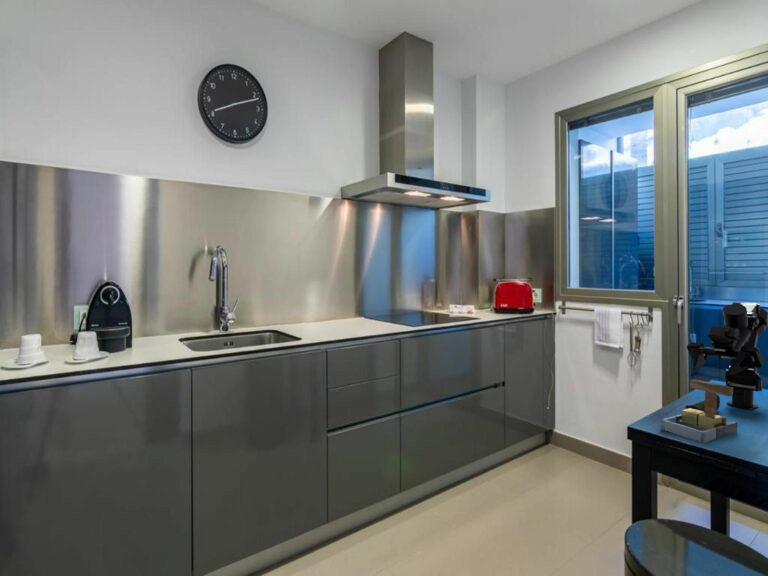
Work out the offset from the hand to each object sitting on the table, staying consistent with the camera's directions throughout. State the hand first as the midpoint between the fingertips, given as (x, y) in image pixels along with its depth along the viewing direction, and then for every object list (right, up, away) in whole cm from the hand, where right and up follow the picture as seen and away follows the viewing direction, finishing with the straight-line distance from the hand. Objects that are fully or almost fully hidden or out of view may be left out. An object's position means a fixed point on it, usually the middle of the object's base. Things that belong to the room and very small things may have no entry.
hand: (711, 371), depth 126 cm
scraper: (-3, -14, -3) cm, 15 cm away
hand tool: (+4, -15, +8) cm, 18 cm away
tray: (-13, -16, -8) cm, 22 cm away
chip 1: (-8, -14, -3) cm, 16 cm away
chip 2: (-6, -14, -7) cm, 17 cm away
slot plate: (-5, -16, -4) cm, 17 cm away
